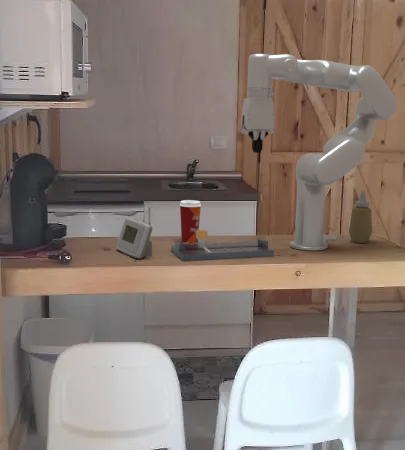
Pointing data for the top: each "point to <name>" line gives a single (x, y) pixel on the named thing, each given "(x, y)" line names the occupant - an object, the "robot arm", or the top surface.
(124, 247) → the digital clock
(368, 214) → the squeeze bottle
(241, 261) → the top surface
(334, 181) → the robot arm
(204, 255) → the grey slider board
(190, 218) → the paper cup
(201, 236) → the fader tab
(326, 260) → the top surface
